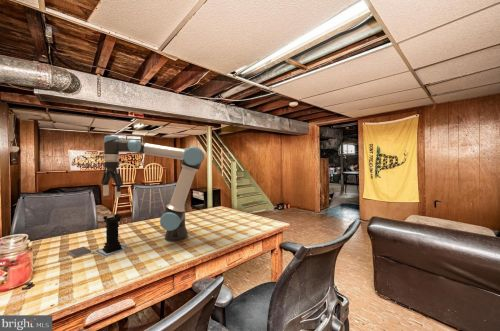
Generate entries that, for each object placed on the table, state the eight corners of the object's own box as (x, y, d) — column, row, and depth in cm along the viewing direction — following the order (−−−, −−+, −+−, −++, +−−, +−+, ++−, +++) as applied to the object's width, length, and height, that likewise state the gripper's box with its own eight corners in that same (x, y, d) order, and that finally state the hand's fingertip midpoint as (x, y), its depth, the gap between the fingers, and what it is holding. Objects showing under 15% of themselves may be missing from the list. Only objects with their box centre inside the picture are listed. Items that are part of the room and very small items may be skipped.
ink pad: (84, 248, 124) (84, 246, 124) (91, 252, 119) (91, 249, 119) (67, 253, 117) (67, 250, 117) (74, 257, 112) (74, 255, 112)
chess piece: (102, 249, 122) (102, 216, 121) (117, 245, 128) (117, 213, 127) (106, 253, 116) (106, 218, 116) (122, 249, 122) (122, 216, 122)
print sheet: (119, 243, 132) (119, 242, 132) (130, 248, 124) (130, 247, 124) (93, 251, 120) (93, 250, 120) (104, 257, 112) (104, 256, 112)
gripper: (94, 161, 127) (94, 195, 127) (116, 161, 115) (116, 199, 115) (107, 161, 134) (108, 193, 134) (129, 161, 121) (129, 197, 121)
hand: (111, 196), depth 124 cm, fingers open, 13 cm apart
